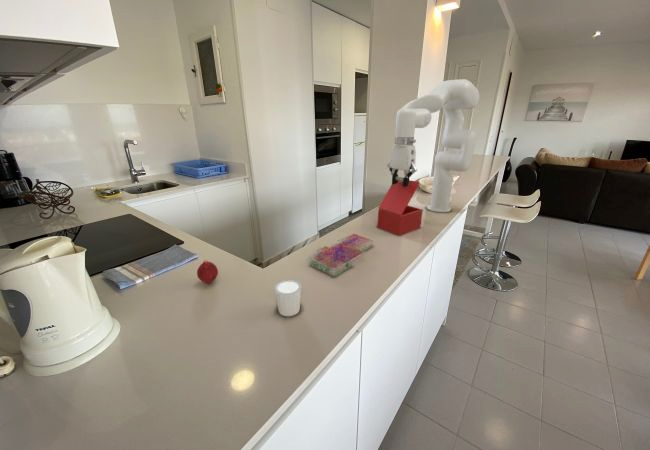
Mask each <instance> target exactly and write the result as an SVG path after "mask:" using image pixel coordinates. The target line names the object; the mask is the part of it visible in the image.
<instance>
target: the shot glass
mask: <svg viewBox="0 0 650 450" xmlns="http://www.w3.org/2000/svg"><path fill="white" fill-rule="evenodd" d="M274 293H275V299H276V305H277V310H278V313H279V314H280V315H281V316H284V317H292V316H295V315H297V314H298V313H299V312H300V310H301V295H302V284H301V283H300V282H299V281H297V280H293V279H285V280H281V281H279V282H278V283H276V284H275V285H274Z"/></svg>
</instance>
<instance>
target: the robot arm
mask: <svg viewBox="0 0 650 450" xmlns="http://www.w3.org/2000/svg"><path fill="white" fill-rule="evenodd" d="M480 97H481V96H480V92H479V90H478V88H477V87H476V86H475V84H473V83H472V82H471V81H470V80H468V79H465V78H462V79H461V78H460V79H450V80H448V79H447V80H444V81H441V82H440V83H439V84H438V85H436V87H434V88H433V89H432V90H431V91H429V93H427V94H424V95H422V96H420V97H418V98H416V99H413V100H411V101H409V102H407V103H406V104H404V105H403V106H402V107H401V108H400V109H398V110H397V112H396V116H395V132H394V144H393V145H392V148H391V152H390V158H389V159H390V160H389V162H388V164H387V165H386V167H387V168H388V170H389V171H390V175H391V185H392V184H397V183H398V180H396V177H397V176H398V177H399V174H398V172H399V170H400V171H403V174H404V176H403V187H406V186H408V185H409V180H410V178H412V176H413V175H414V174H415V173H416V172H418V168H417V166H416V163H417V162H416V159H417V156H416V155H417V153H416V145H415V143H417V140H416V139H415V132H416V131H415V130H416V129H425V128H426V127H428V126H429V125H430V124H431V121H432V114H433V113H436V112H438V111H440V110H441V109H442V110H443V112H444V115H445V123H444V128H443V133H442V137H441V145H442V146H441V147H443V148H445V149H452V150H441V151H438V152H437V153H436V154H435V157H434V175H433V182H432V189H431V196H430V203H429V204H427V205H426V209H427V210H429V211H431V212H434V213H449V212H451V211H452V207H451V206H449V205H450V204H452V203H453V201H452V200H451V194H452V193H451V192H452V188H453V182H454V176H453V174H452V172H460V173H461V172H462V173H465V172H466V171H468V170H469V169H470V167H471V164H472V161H473V157H474V152H475V148H476V144H477V132H476V131H475V130H473V129H465V128H464V125H465V124H464V123H465V116H464V114H463V112H462V110H471V109H472V110H473V109H474V108H476V107H477V106H478V104H479V102H480ZM463 128H464V129H463ZM453 149H454V150H461V151H453ZM451 171H452V172H451Z"/></svg>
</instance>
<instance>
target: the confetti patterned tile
mask: <svg viewBox="0 0 650 450" xmlns="http://www.w3.org/2000/svg"><path fill="white" fill-rule="evenodd" d="M373 241H374V240H373V239H371V238H367V237H364V236H362V235H359V234H357V233H354V232H353V233H352V234H350V235H347V236H345V237H342V238H339V239H338V240H337V242H336V243H334V244H332V245H330V246H329V245H323V246H320V247H319V248H316V249H314V250H312V253H313V254H311V255H309V256H307V259H305V261H306V262H309V263H310V262H311V266H313V267H316V266H318V267H317V269H318V270H320V271H322V272H324V273H327V274H328V275H330V276H332V277H335V276H337V275H339V274H341V273H342V269H344V271H346V270H347V269H349V268H351V266H352V262H353V261H354V260H356V259H358V258H360V257H361V256H363V255H365V254H366V251H367V250H369V249H371V248H372V247H373V245H372V244H373V243H374V242H373ZM343 265H348V267H346V268H345V266H343ZM338 269H339V272H336V274H334V271H336V270H338ZM331 270H332V271H331Z"/></svg>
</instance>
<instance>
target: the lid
mask: <svg viewBox="0 0 650 450" xmlns="http://www.w3.org/2000/svg"><path fill="white" fill-rule="evenodd" d="M403 178H404V176H403V177H402V176H399V175H398V176H397V177H396V180H398V183H397V184H392V183H391V184H390V187H389V188H388V190H387V192H386V193H385V195H384V197H383V198H382V200H381V202H380V203H379V206H378V208H377V209H378V210H379V209H382V210H385V211H388V212H391V213H394V214H397V215H400V216H402V214H403V212H404V210H405V209H406V207H407V205H408V206H409V203H410V201H411V200H412V198H413V196H414V195H415V193H416V191H417V189H418V187H419V185H420V184H421V183H420V181H416V180H412V179H411V180H410V179H409V185H408V186H406V187H403Z"/></svg>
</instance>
